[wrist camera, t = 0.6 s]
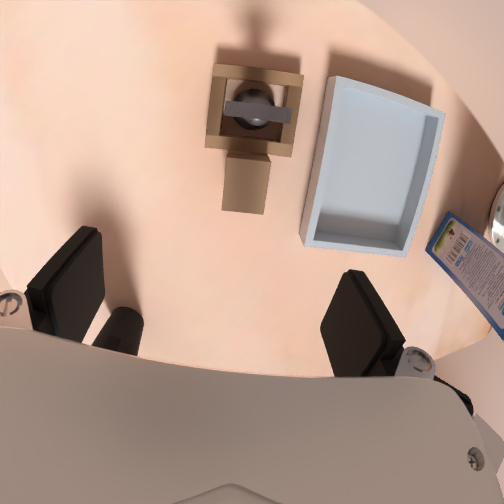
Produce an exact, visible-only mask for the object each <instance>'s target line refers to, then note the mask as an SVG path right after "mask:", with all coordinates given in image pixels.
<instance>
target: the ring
mask: <svg viewBox="0 0 504 504" xmlns="http://www.w3.org/2000/svg"><path fill="white" fill-rule="evenodd" d="M227 79H234V80H244V81H253V82H261V83H268V84H275V85H281V86H286V89H285V96H284V103H283V108H289V109H292V115H291V122H290V124H289V123H282V122H281V123H280V129H279V136H278V140H271V139H263V138H255V137H247V136H237V135H227V134H221V126H222V117H223V109H224V100H225V92H226V85H227ZM303 79H304V75H300V74H294V73H289V72H283V71H277V70H270V69H263V68H255V67H246V66H236V65H225V64H214V70H213V77H212V85H211V93H210V101H209V110H208V119H207V129H206V139H205V148H216V149H227V150H229V152H228V155H227V161H226V170H225V180H224V190H223V200H222V210H224V211H234V212H243V213H253V214H262V215H263V213H264V207H265V200H266V193H267V187H268V180H269V174H270V167H271V161H270V159H269V157H268V155H267V154H270V155H278V156H285V157H291V155H292V149H293V143H294V137H295V130H296V124H297V118H298V111H299V105H300V99H301V92H302V85H303Z"/></svg>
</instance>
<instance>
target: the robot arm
mask: <svg viewBox="0 0 504 504" xmlns="http://www.w3.org/2000/svg"><path fill="white" fill-rule="evenodd" d="M489 235H490V239H491V241H492V243H493V245H494V246H495V247H497V248H498V249H499V250H501V251H504V184H503V185H502V186H501V188H500V189H499V191H498V193H497V195H496V197H495V199H494V202H493V205H492V208H491V213H490V218H489ZM104 296H105V286H104V273H103V257H102V235H101V233H100V232H98V230H97V228H94V227H88V226H82V227H81V228H80V229H79V230H78V231H77V232H76V233H75V234H74V235H73V236H72V237H71V238H70V239H69V240H68V241H67V242H66V243H65V244H64V245H63V246H62V247H61V248H60V249H59V250H58V251H57V252H56V253H55V254H54V255H53V256H52V258H51V259H50V260H49V261H48V262H47V263H46V264H45V265H44V266H43V268H42V269H41V270H40V271H39V272H38V273H37V274H36V276H35V277H34V278H33V279H32V280H31V281H30V283H29V284H28V285H27V290H26V291H25V292H24V294H23V293H22V292H20V291H18V290H6V291H3V292H0V504H504V498H503V495H502V492H501V488H500V485H499V482H498V479H497V476H496V473H497V471H498V469H499V467H500V465H501V462H502V460H503V458H504V441H503V440H502V438H501V437H500V436H499V435H498V434H497V433H496V432H495V431H494V430H493V429H492V428H491V427H490V426H489V425H488V424H487V423H486V422H485V421H484V420H483V419H482V418H481V417H480V416H479V415H478V414H475V415H474V416H473V405H472V403H471V400H470V398H469V397H468V396H467V395H466V394H464V393H462V392H461V391H459V390H457V389H456V388H454V387H453V386H451V385H449V384H448V383H446V382H445V381H443V380H441V379H440V378H438V377H437V376H435V375H434V374H435V364H434V361H433V359H432V358H431V356H430V355H429V354H428V353H426V352H425V351H424V350H422V349H420V348H417V347H407V348H405V349H404V348H403V346H402V345H403V344H404V342H405V341H406V340H405V338H404V336H403V335H402V333H401V331H400V329H399V328H398V326H397V324H396V323H395V321H394V319H393V318H392V316H391V314H390V313H389V311H388V309H387V308H386V306H385V304H384V303H383V301H382V300H381V298H380V296H379V295H378V293H377V292H376V290H375V288H374V287H373V285H372V284H371V282H370V281H369V279H368V277H367V276H366V274H365V273H364V272H363V271H358V270H351V269H350V270H348V271H347V272H345V273H344V274H343V275H342V277H341V280H340V282H339V285H338V287H337V289H336V291H335V294H334V296H333V298H332V301H331V303H330V305H329V307H328V310H327V312H326V314H325V316H324V318H323V320H322V323H321V326H320V331H321V335H322V338H323V341H324V344H325V347H326V350H327V353H328V357H329V360H330V363H331V366H332V369H333V373H334V376H335V377H317V376H292V375H275V374H261V373H249V372H239V371H230V370H221V369H213V368H205V367H198V366H191V365H184V364H178V363H172V362H166V361H160V360H155V359H149V358H144V357H139V356H134V355H129V354H124V353H120V352H115V351H111V350H107V349H103V348H99V347H95V346H91V345H87V344H83V343H82V341H83V339H84V337H85V335H86V333H87V331H88V329H89V327H90V325H91V323H92V321H93V319H94V317H95V315H96V313H97V311H98V309H99V307H100V305H101V303H102V301H103V299H104Z"/></svg>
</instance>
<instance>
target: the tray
mask: <svg viewBox="0 0 504 504" xmlns="http://www.w3.org/2000/svg"><path fill="white" fill-rule="evenodd" d="M444 118H445V113H443V112H441V111H439V110H436V109H434V108H432V107H430V106H427V105H425V104H422V103H420V102H417V101H415V100H412V99H410V98H407V97H404V96H402V95H399V94H396V93H393V92H391V91H388V90H385V89H382V88H379V87H376V86H372V85H369V84H366V83H363V82H359V81H356V80H352V79H349V78H345V77H341V76H337V75H336V76H332V77H328V78H327V84H326V90H325V97H324V103H323V109H322V115H321V121H320V127H319V133H318V138H317V144H316V150H315V155H314V161H313V166H312V171H311V177H310V182H309V187H308V192H307V197H306V202H305V207H304V212H303V217H302V222H301V226H300V231H299V235H300V238H301V240H302V243H303V245H304V247H313V248H322V249H332V250H341V251H350V252H359V253H368V254H377V255H386V256H395V257H404V258H406V255H407V253H408V250H409V247H410V245H411V242H412V239H413V236H414V233H415V230H416V227H417V224H418V221H419V218H420V215H421V212H422V209H423V206H424V202H425V199H426V195H427V192H428V188H429V185H430V181H431V177H432V174H433V170H434V166H435V162H436V157H437V153H438V149H439V144H440V139H441V134H442V129H443V124H444Z"/></svg>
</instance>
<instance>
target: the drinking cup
mask: <svg viewBox="0 0 504 504" xmlns="http://www.w3.org/2000/svg"><path fill="white" fill-rule="evenodd" d="M143 327H144V322H143V319H142V317H141V316H140V315H139V314H138V313H137V312H136V311H134V310H133V309H130V308H127V307H119V308H116V309H115V310H114V311H113V313H112V314H111V316H110V317H109V319H108V320H107V322H106V323H105V325H104V326H103V328H102V329H101V331H100V333H99V334H98V336H97V337H96V339H95V340H94V342H93V344H92V345H91V346H95V347H99V348H103V349H107V350H111V351H115V352H120V353H124V354H129V355H134V356H137V354H138V350H139V345H140V340H141V336H142V331H143Z"/></svg>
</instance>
